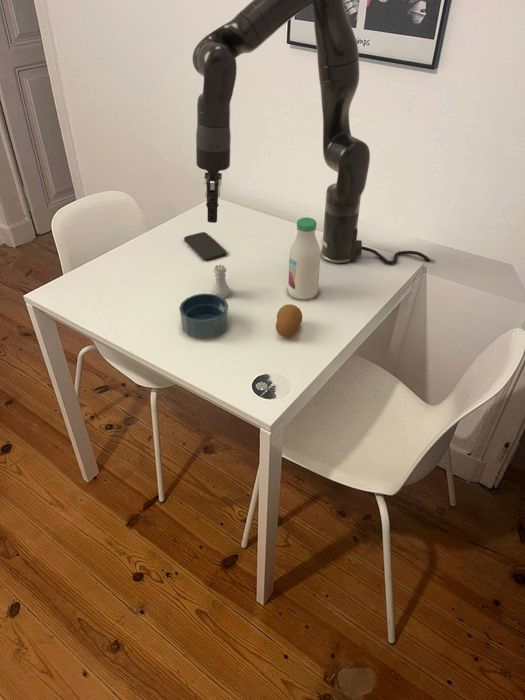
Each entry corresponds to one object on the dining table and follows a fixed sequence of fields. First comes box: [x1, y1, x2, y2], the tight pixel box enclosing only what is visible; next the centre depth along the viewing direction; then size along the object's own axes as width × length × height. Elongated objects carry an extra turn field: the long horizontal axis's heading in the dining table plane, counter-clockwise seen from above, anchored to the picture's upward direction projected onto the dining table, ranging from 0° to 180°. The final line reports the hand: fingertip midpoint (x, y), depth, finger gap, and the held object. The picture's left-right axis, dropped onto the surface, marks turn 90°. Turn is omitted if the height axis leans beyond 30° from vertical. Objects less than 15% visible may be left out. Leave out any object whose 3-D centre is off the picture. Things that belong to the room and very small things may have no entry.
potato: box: [275, 303, 303, 339], centre depth 123 cm, size 6×9×6 cm
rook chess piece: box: [212, 264, 231, 299], centre depth 135 cm, size 4×4×8 cm
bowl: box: [178, 293, 230, 339], centre depth 125 cm, size 11×11×6 cm
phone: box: [183, 231, 227, 261], centre depth 157 cm, size 7×1×15 cm
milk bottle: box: [287, 217, 321, 300], centre depth 132 cm, size 8×8×20 cm
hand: (212, 214), depth 127 cm, fingers open, 8 cm apart
